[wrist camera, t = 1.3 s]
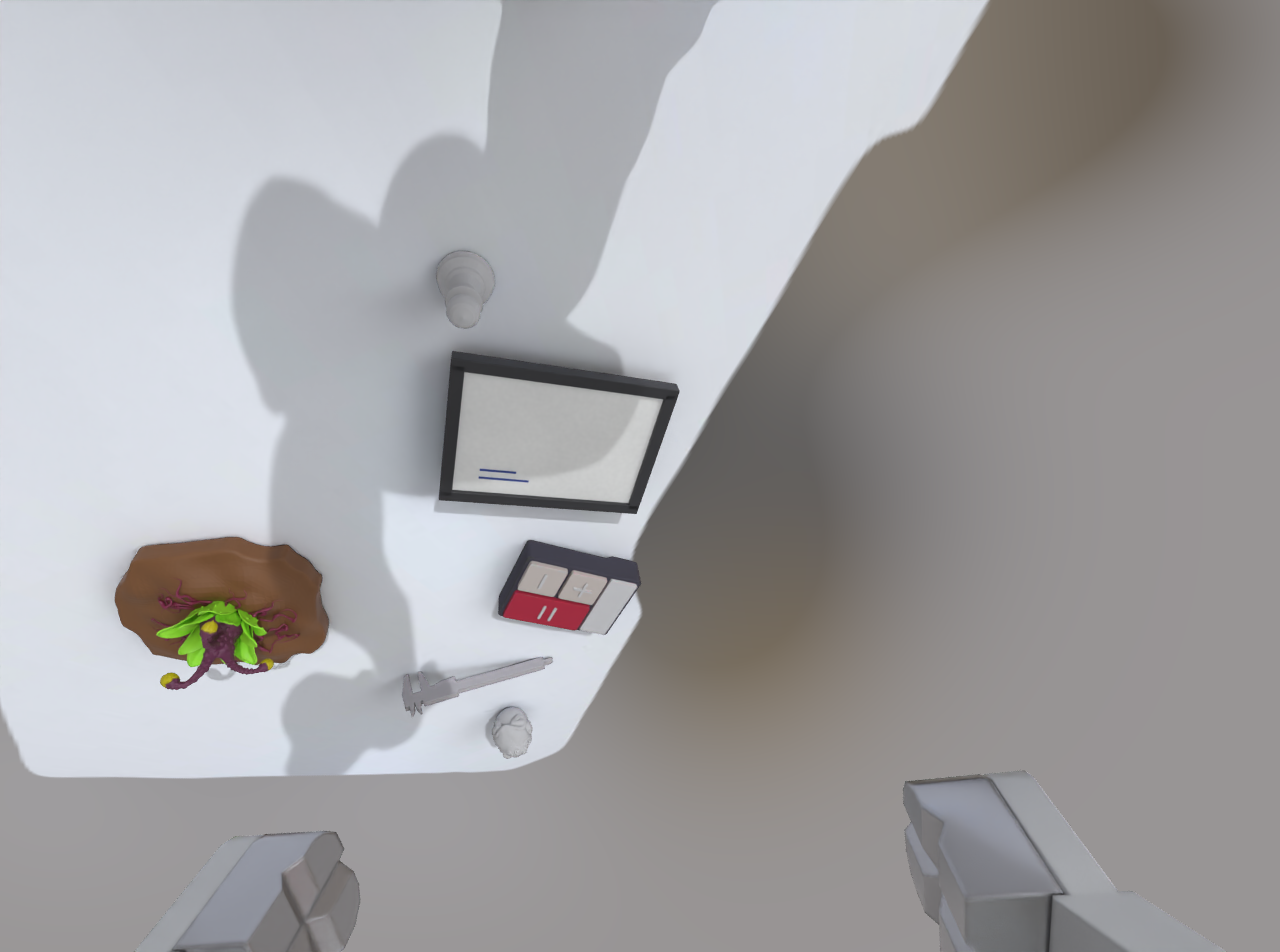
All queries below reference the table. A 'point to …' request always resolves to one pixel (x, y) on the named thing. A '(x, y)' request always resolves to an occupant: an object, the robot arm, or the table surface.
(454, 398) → the whiteboard
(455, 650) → the table surface
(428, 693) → the caliper
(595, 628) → the calculator
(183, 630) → the plant
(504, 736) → the frog figurine
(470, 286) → the chess piece
